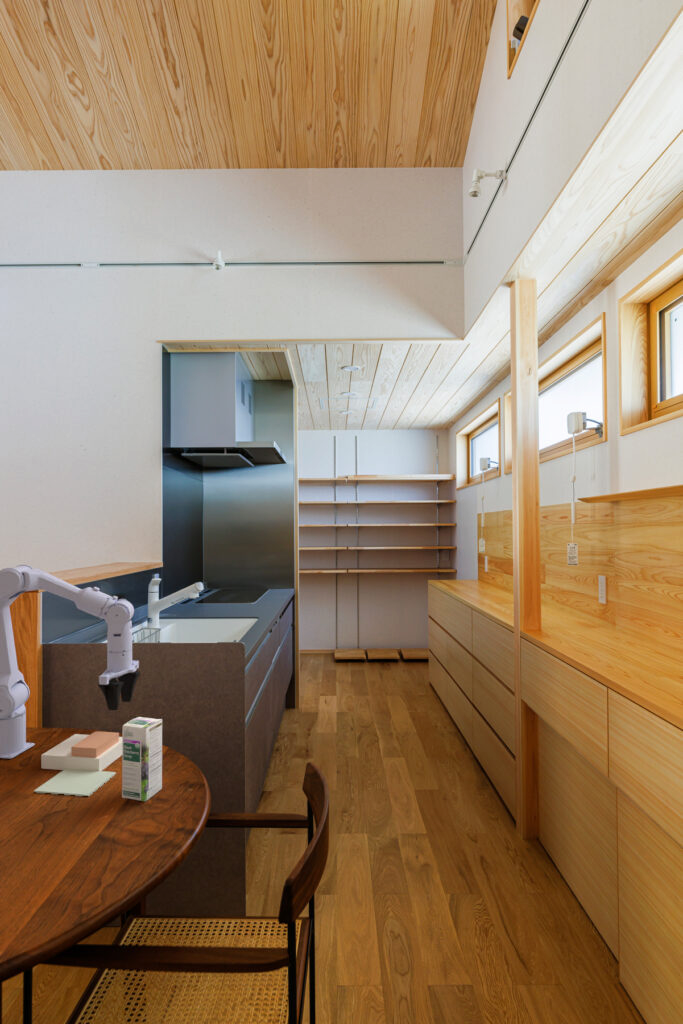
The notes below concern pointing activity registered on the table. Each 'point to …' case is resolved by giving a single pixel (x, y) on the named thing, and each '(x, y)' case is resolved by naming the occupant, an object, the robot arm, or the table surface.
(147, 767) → the syrup box
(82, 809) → the table surface
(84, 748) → the tile
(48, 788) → the mat
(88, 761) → the white flat block
